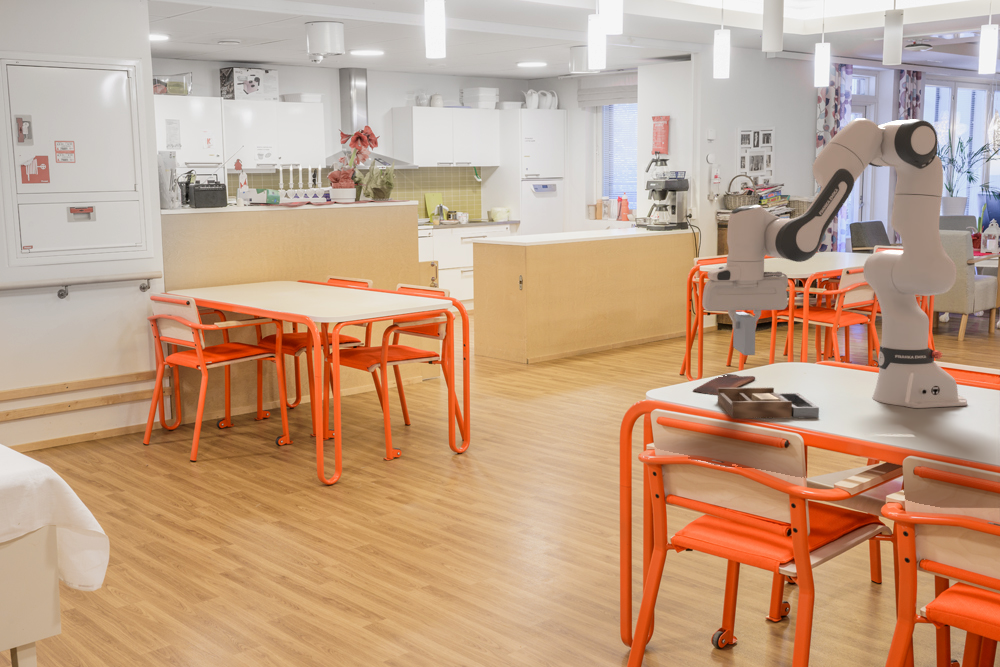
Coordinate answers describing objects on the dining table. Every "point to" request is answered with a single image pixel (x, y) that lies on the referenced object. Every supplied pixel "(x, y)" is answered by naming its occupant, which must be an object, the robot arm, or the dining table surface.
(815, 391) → the dining table surface
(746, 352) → the gray rectangular panel
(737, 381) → the wooden tablet
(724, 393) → the divided tray
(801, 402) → the stand
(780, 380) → the dining table surface
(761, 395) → the offcut short
